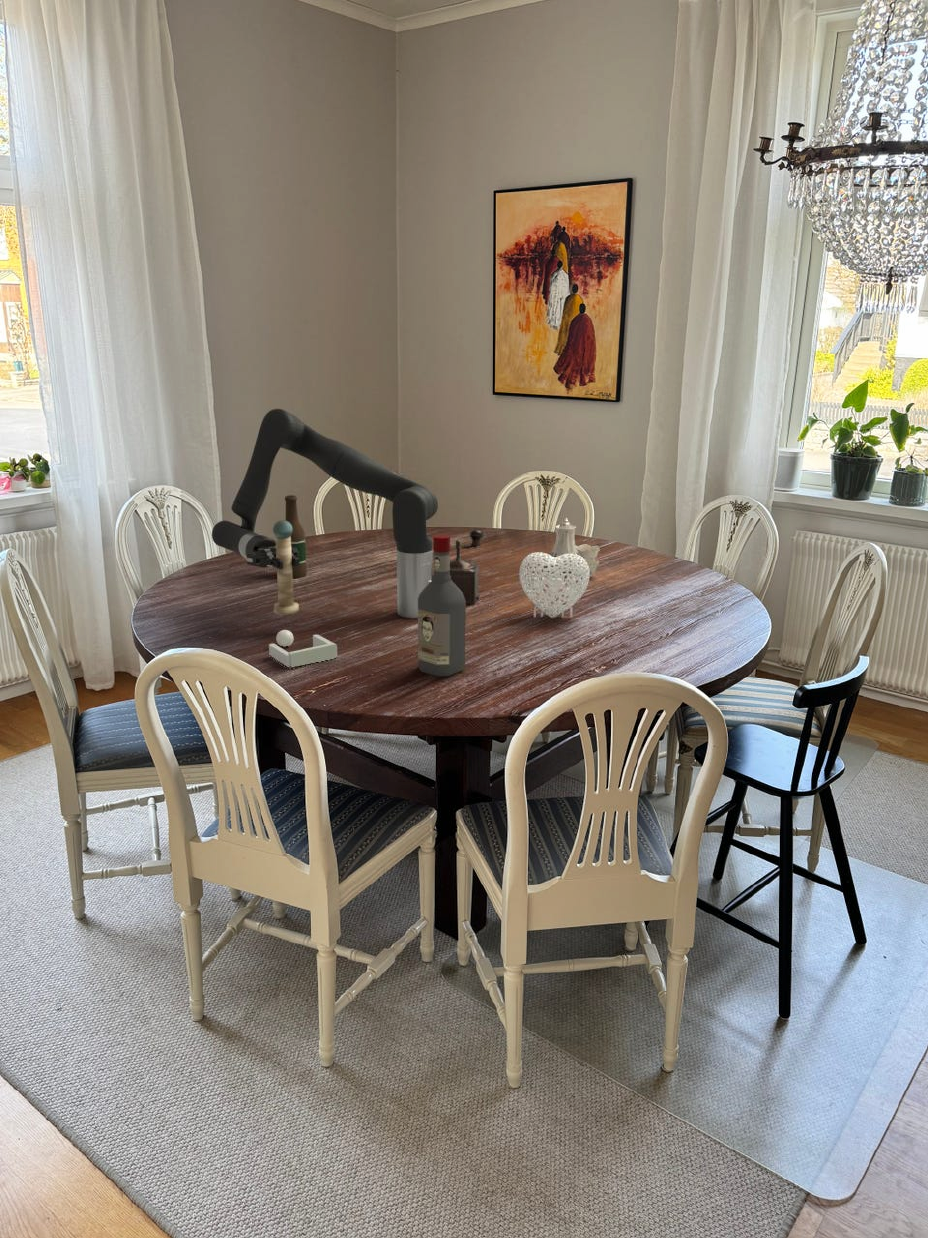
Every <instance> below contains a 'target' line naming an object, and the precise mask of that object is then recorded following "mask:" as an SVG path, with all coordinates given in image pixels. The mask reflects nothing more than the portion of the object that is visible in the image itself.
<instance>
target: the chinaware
mask: <svg viewBox="0 0 928 1238" xmlns="http://www.w3.org/2000/svg"><path fill="white" fill-rule="evenodd" d="M554 528H555V530H556V537H555V538H556V539H555V543H554V546H553V549H552V550H551V551H550V553H549V554H548V555H550V556H552V557H558V556H561V555H564V554H577V555H579V556H581V557H582V558H583V559H584V560H585V561H586V562H587V564H588V566H589V571H590V576H591V575H593V574H594V573H595V572H596V569H597V566H598V565H599V564H600V563H601V561H600V560H597V559H596V558H597V556H598V554H599V552H600V550H601V548H600V546H598V545H592V546H591V545H590V544H586V543H583V544H580V545H576V540H575V534H576V533H575V532H576V528H577V526H576V525H573V524H572V523H571V522H570V521H569V520H568V518H567V517H565V518H564V520H563V521H561V523H560V524H559V525H555V527H554ZM568 557H569V556H568ZM570 559H571V558H568V560H570ZM578 561H579V560H578ZM546 562H547V563H548V561H546ZM563 562H566V561H563ZM575 562H576V561H575ZM579 562H580V561H579ZM556 563H557V562H556ZM569 563H571V561H569ZM573 564H575V563H573ZM577 564H578V565H579V563H577ZM581 564H582V563H581ZM565 565H567V564H565ZM555 566H556V567H557V566H558V565H555ZM570 566H572V565H570ZM574 566H576V565H574ZM551 567H553V565H551ZM573 568H574V567H573ZM559 569H561V568H559ZM564 569H566V568H564ZM578 569H579V568H578ZM569 570H570V569H569ZM576 571H577V570H576ZM581 571H582V570H581ZM578 572H579V571H578ZM562 573H563V574H565V573H566V571H564V572H562ZM568 573H569V574H570V573H571V571H569V572H568ZM576 576H577V574H576ZM579 577H580V575H579ZM584 578H585V577H584ZM581 579H582V577H581Z"/></svg>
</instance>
